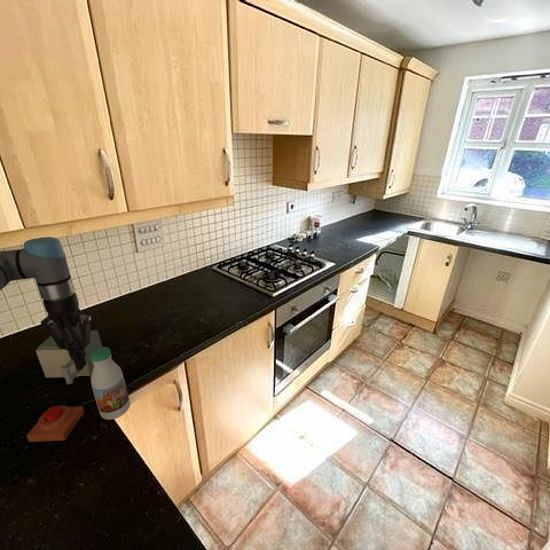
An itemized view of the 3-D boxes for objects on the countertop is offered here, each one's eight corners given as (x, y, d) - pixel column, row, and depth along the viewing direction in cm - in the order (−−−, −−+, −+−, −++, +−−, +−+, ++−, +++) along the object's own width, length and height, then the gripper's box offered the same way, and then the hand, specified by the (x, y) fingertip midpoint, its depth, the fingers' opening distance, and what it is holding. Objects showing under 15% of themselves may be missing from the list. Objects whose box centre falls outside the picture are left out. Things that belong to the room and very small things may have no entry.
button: (42, 422, 77) (40, 417, 77) (51, 411, 81) (49, 406, 80) (57, 421, 78) (55, 416, 77) (65, 410, 81) (63, 405, 80)
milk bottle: (94, 416, 84) (75, 356, 76) (116, 396, 90) (101, 340, 83) (114, 424, 81) (97, 363, 73) (136, 403, 88) (122, 346, 80)
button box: (28, 441, 76) (23, 430, 75) (51, 413, 85) (47, 402, 83) (65, 440, 77) (60, 428, 75) (84, 412, 85) (80, 401, 83)
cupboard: (48, 378, 98) (37, 347, 94) (65, 360, 106) (55, 331, 102) (92, 376, 99) (83, 345, 94) (105, 359, 107) (97, 330, 102)
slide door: (31, 392, 91) (20, 363, 87) (47, 376, 97) (37, 349, 93) (78, 390, 91) (69, 362, 87) (91, 374, 98) (83, 347, 94)
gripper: (91, 288, 84) (109, 358, 93) (43, 290, 84) (66, 359, 92) (75, 301, 77) (97, 374, 86) (23, 302, 77) (50, 376, 85)
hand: (81, 366), depth 89 cm, fingers closed
